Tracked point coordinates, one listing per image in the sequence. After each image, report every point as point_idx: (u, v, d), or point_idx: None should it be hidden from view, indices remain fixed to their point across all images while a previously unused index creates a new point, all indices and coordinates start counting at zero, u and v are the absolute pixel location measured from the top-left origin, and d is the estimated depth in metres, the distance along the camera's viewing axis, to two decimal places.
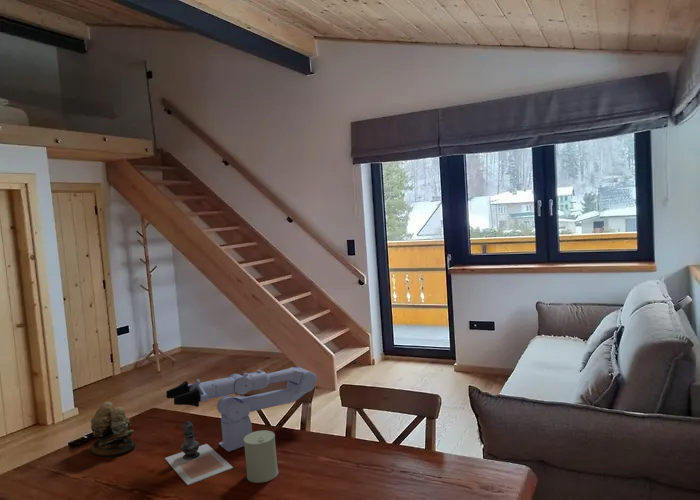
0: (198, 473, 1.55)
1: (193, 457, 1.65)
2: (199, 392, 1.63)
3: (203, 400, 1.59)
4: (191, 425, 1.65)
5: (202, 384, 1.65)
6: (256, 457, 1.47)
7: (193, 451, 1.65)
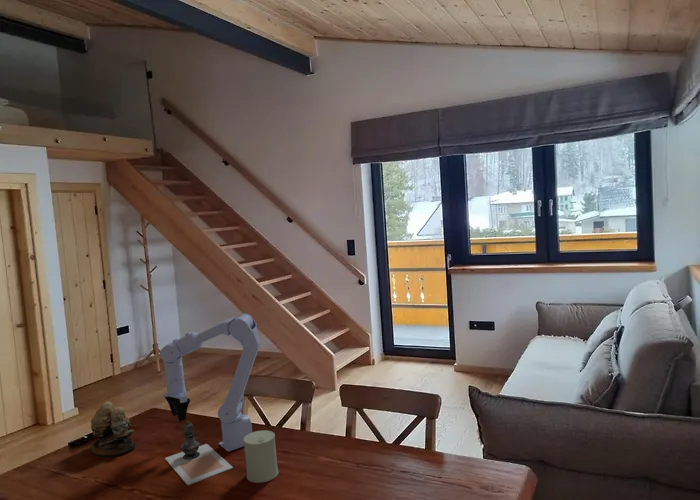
0: (198, 473, 1.55)
1: (193, 457, 1.65)
2: None
3: (185, 399, 1.67)
4: (191, 425, 1.65)
5: (169, 392, 1.70)
6: (256, 457, 1.47)
7: (193, 451, 1.65)
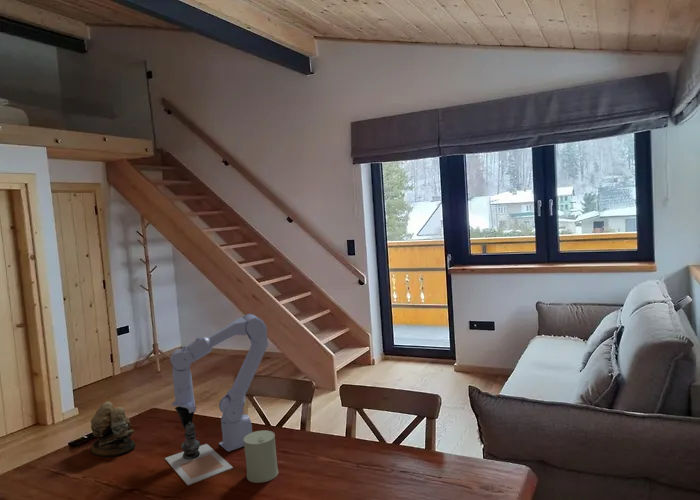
0: (198, 473, 1.55)
1: (193, 457, 1.65)
2: None
3: (194, 409, 1.60)
4: (193, 426, 1.64)
5: (177, 401, 1.63)
6: (256, 457, 1.47)
7: (193, 451, 1.64)
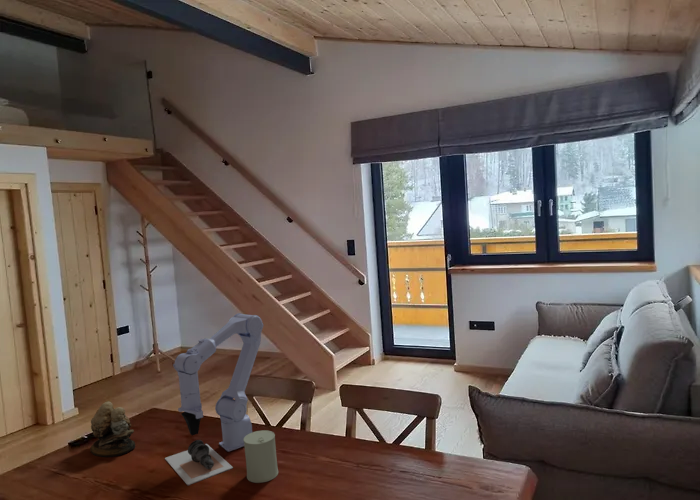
0: (198, 473, 1.55)
1: None
2: None
3: (201, 415, 1.55)
4: None
5: (184, 406, 1.58)
6: (256, 457, 1.47)
7: None
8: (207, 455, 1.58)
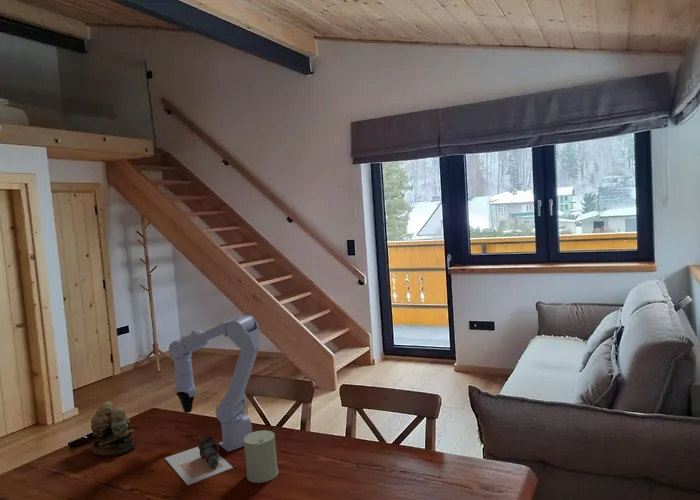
0: (198, 473, 1.55)
1: (200, 448, 1.65)
2: None
3: (194, 394, 1.72)
4: None
5: (178, 386, 1.75)
6: (256, 457, 1.47)
7: None
8: (216, 456, 1.60)
